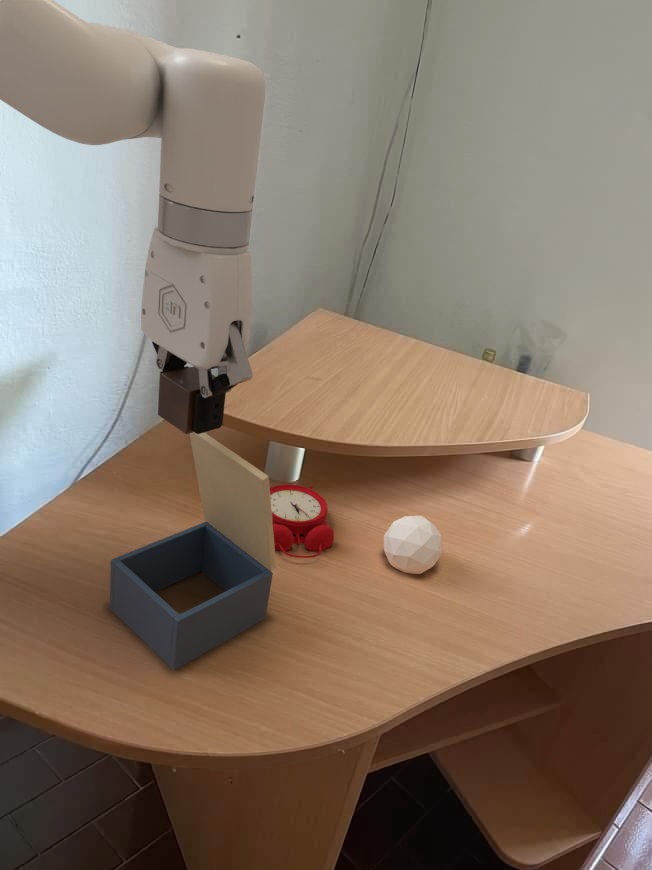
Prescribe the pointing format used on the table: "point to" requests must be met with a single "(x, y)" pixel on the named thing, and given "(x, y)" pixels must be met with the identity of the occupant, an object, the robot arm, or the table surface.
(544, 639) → the table surface
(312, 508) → the alarm clock
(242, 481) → the lid
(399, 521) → the geometric ball
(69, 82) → the robot arm
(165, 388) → the block
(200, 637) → the chest
